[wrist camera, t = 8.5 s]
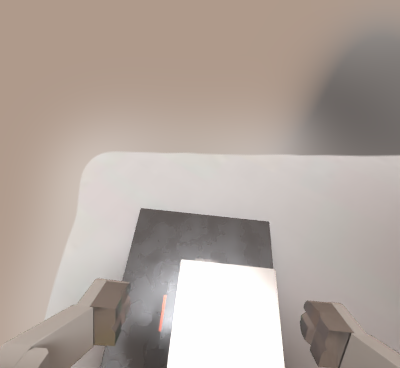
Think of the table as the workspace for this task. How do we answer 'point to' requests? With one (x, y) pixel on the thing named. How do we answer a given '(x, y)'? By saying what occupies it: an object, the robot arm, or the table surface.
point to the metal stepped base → (175, 275)
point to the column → (226, 317)
